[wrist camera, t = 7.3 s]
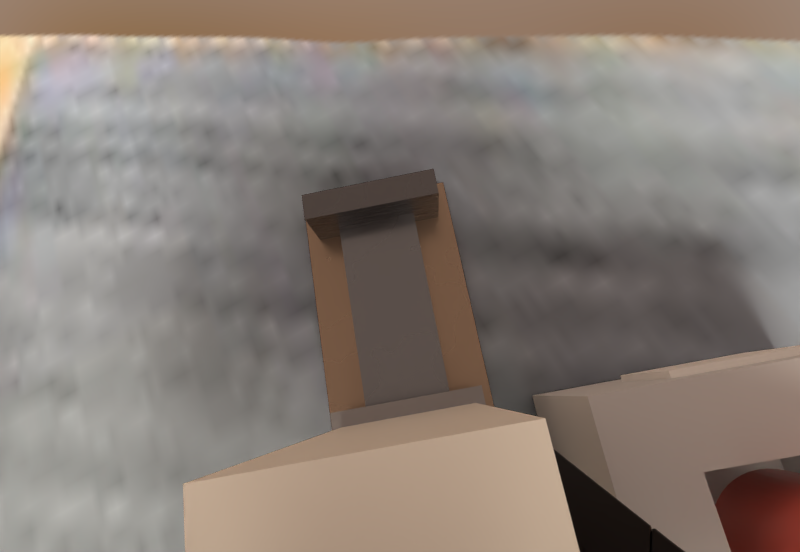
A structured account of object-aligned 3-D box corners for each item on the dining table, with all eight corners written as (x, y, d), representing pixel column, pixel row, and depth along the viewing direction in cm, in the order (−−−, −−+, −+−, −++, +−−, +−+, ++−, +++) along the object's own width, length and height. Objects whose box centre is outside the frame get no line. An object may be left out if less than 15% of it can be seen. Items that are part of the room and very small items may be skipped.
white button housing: (899, 642, 13) (1261, 836, 7) (606, 689, 13) (735, 912, 8) (775, 345, 16) (972, 317, 10) (530, 389, 16) (585, 387, 10)
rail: (558, 694, 13) (585, 760, 11) (371, 725, 14) (357, 795, 11) (442, 185, 18) (443, 154, 16) (306, 212, 19) (287, 185, 16)
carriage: (514, 548, 13) (714, 938, 4) (357, 575, 14) (168, 1017, 4) (478, 385, 15) (559, 370, 5) (336, 412, 15) (158, 444, 5)
